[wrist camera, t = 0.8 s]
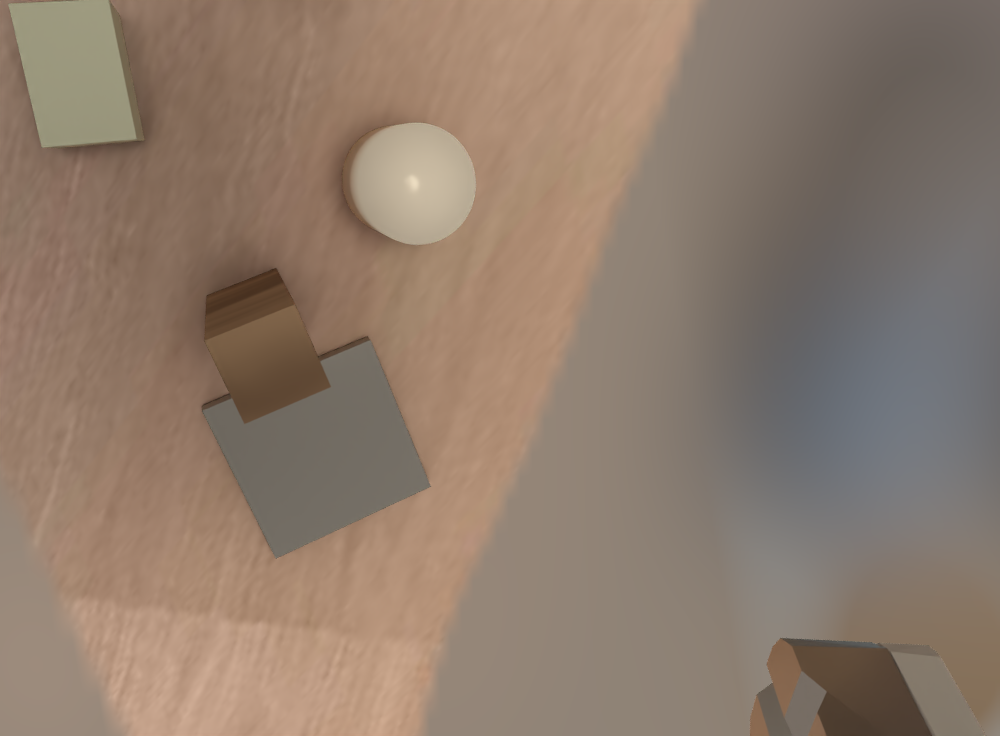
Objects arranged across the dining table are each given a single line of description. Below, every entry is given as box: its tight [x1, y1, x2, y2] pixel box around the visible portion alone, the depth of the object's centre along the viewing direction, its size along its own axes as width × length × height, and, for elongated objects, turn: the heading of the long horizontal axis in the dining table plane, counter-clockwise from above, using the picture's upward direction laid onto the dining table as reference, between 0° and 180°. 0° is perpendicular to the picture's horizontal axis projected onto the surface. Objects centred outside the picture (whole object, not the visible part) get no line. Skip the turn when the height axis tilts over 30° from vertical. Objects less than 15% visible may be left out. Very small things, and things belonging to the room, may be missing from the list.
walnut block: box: [204, 268, 331, 424], centre depth 42 cm, size 4×4×12 cm
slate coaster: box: [202, 336, 431, 558], centre depth 50 cm, size 10×10×1 cm
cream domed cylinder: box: [342, 123, 476, 245], centre depth 45 cm, size 6×6×6 cm
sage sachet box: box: [8, 0, 145, 148], centre depth 40 cm, size 6×4×5 cm, turn 6°
